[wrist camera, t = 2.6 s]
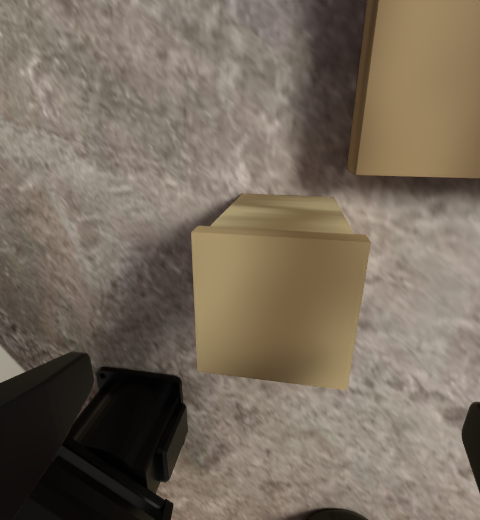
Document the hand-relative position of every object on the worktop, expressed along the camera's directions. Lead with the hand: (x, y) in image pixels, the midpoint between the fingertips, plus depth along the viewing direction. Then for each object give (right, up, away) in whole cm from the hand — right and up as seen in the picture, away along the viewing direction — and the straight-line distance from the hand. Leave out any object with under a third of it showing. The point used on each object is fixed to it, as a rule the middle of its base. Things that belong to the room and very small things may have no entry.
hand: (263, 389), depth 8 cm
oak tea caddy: (+2, +4, +11) cm, 12 cm away
